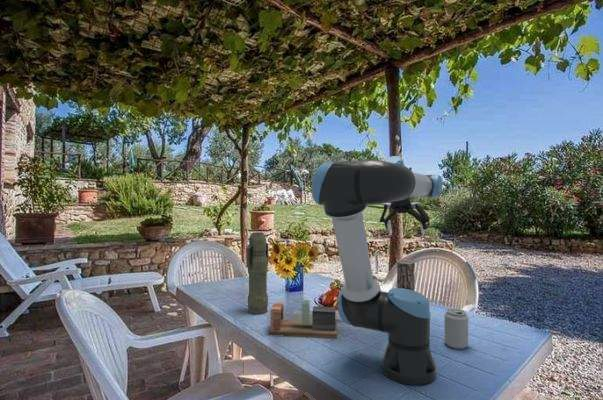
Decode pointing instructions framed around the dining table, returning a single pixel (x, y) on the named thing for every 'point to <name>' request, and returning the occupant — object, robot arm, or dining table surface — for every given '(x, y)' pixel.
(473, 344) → the dining table surface
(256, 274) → the thermos
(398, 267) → the bark textured post
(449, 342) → the can
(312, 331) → the tube rig
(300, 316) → the pale green block
